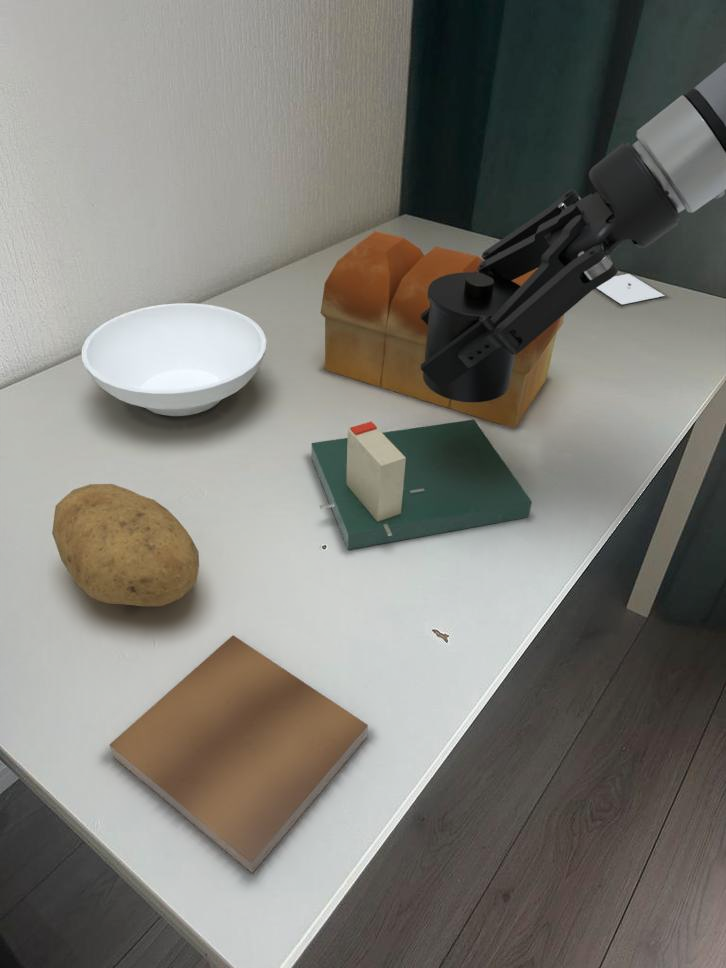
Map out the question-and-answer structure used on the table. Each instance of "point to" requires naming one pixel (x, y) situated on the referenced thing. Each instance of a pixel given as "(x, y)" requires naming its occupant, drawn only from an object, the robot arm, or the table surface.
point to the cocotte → (456, 311)
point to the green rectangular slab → (427, 485)
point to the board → (240, 749)
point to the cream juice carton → (375, 471)
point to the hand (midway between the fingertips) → (430, 350)
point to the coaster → (628, 289)
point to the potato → (124, 546)
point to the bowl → (175, 356)
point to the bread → (411, 325)
